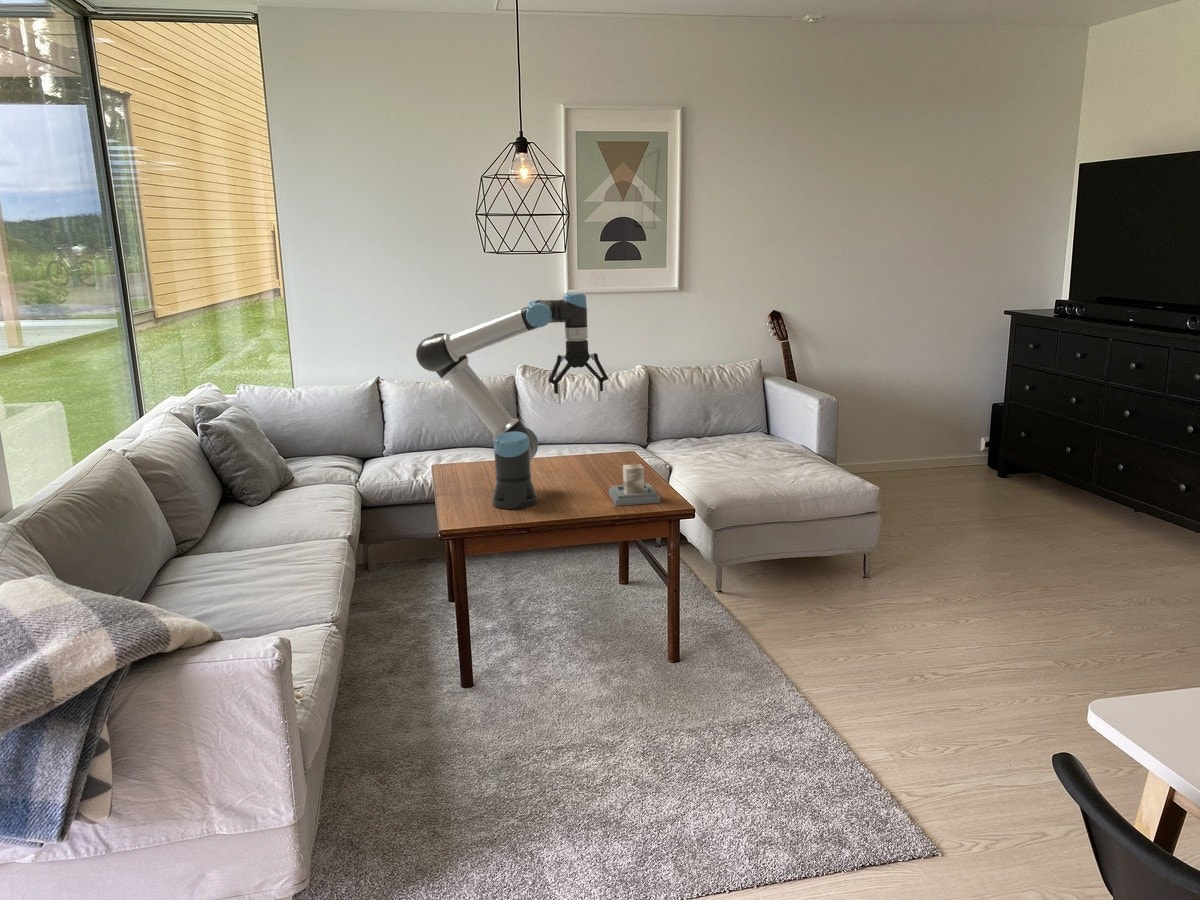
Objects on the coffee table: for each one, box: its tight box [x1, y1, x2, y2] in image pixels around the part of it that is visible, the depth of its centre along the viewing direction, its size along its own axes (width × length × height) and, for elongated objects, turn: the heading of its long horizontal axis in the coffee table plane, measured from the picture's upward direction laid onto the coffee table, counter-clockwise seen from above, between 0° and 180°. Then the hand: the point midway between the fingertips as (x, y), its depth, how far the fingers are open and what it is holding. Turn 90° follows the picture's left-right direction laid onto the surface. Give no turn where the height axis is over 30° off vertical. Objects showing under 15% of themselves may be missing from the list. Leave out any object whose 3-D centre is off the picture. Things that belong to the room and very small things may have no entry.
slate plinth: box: [608, 483, 662, 507], centre depth 296 cm, size 15×15×3 cm
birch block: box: [622, 463, 645, 494], centre depth 295 cm, size 6×6×9 cm
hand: (579, 402), depth 299 cm, fingers open, 13 cm apart
